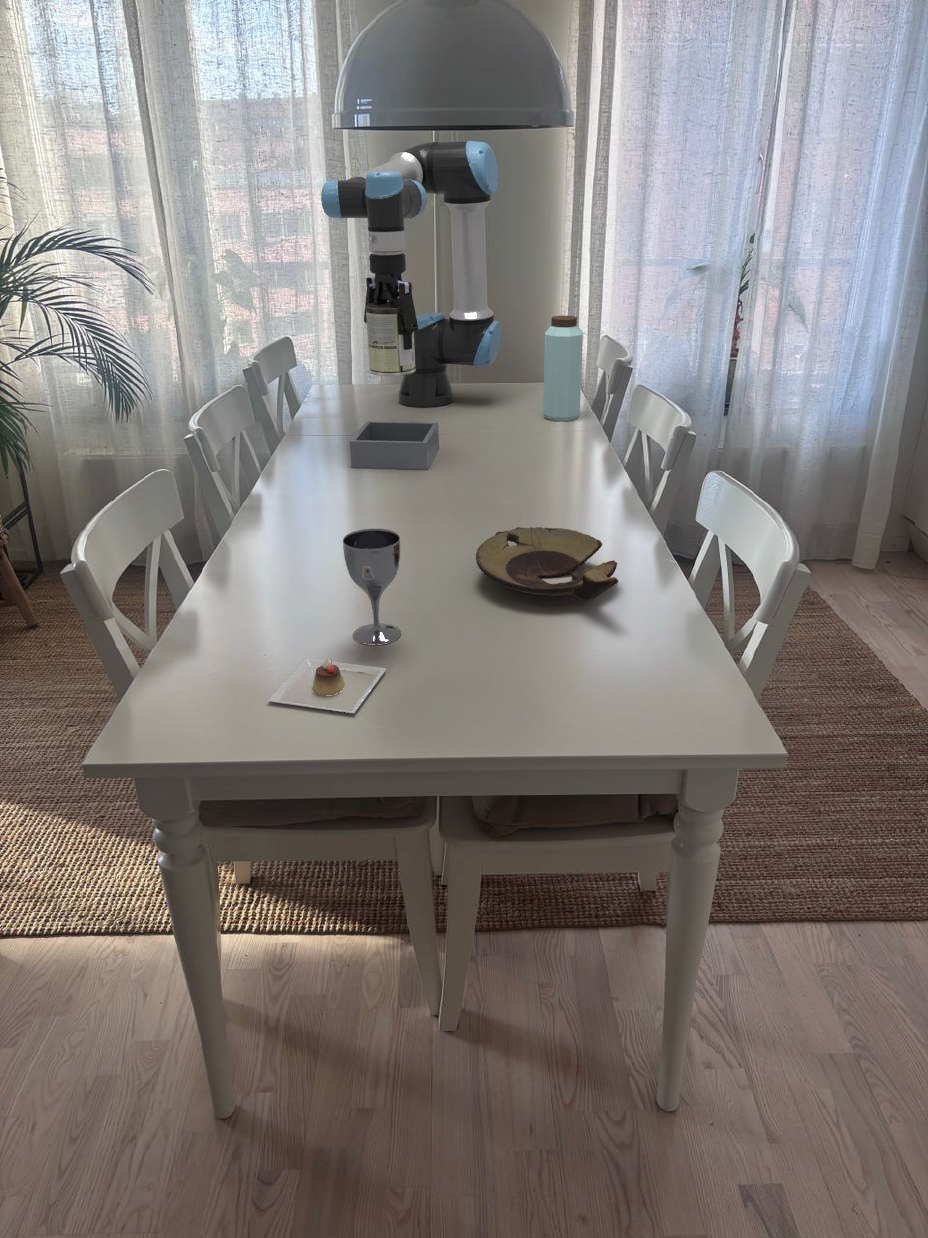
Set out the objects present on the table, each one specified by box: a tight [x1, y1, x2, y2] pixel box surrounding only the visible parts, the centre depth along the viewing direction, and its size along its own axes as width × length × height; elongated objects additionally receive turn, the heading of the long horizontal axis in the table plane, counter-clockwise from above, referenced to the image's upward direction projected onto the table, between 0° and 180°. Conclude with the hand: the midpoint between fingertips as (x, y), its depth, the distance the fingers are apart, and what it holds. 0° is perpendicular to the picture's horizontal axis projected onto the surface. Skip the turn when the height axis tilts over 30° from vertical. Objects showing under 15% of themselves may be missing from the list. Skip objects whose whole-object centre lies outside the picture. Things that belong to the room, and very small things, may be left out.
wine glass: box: [342, 528, 402, 646], centre depth 140 cm, size 8×8×15 cm
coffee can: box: [364, 301, 416, 377], centre depth 211 cm, size 10×10×14 cm
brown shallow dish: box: [475, 526, 619, 601], centre depth 155 cm, size 22×30×8 cm
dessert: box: [267, 657, 387, 714], centre depth 128 cm, size 12×12×5 cm
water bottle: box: [542, 315, 584, 422], centre depth 248 cm, size 10×10×25 cm
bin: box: [349, 420, 440, 471], centre depth 222 cm, size 17×17×6 cm
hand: (392, 360), depth 213 cm, fingers closed on coffee can, 10 cm apart
